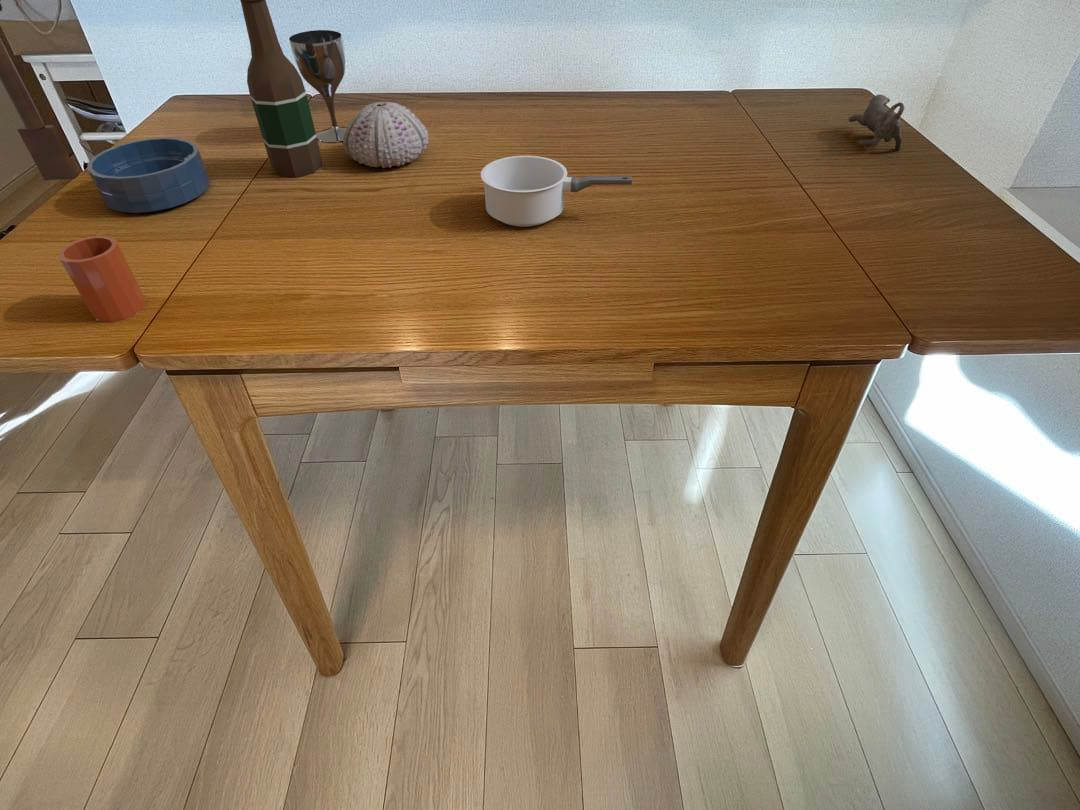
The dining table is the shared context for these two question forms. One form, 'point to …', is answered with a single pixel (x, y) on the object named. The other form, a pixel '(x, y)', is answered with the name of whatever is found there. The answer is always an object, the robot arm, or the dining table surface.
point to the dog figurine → (881, 121)
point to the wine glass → (322, 70)
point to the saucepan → (532, 188)
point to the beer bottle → (279, 98)
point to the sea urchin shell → (385, 135)
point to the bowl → (149, 174)
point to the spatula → (35, 126)
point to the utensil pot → (103, 278)
